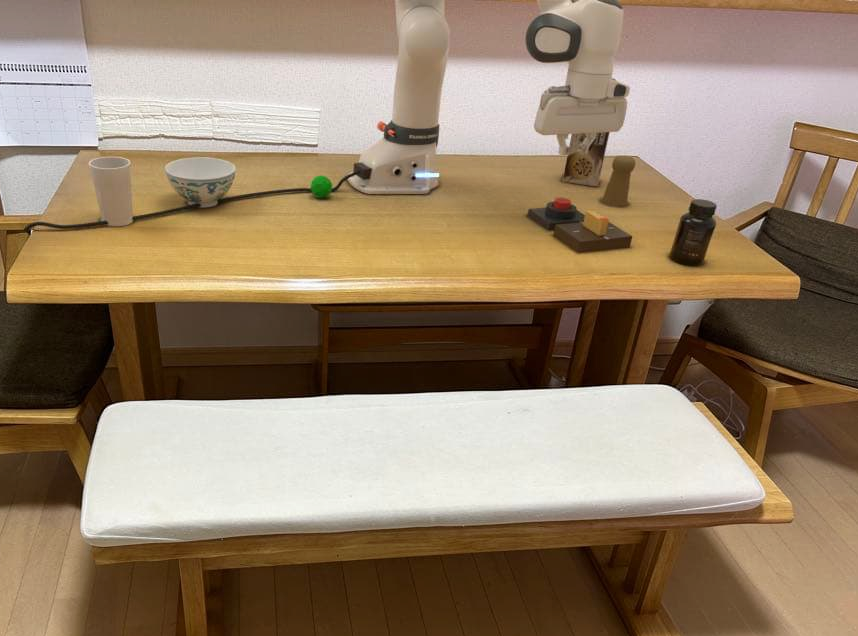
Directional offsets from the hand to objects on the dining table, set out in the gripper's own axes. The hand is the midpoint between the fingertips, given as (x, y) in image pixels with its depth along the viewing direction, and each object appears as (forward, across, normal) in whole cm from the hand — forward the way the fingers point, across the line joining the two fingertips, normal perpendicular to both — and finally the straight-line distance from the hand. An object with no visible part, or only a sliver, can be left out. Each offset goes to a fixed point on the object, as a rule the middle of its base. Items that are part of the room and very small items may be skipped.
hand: (572, 153), depth 161 cm
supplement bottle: (+15, +15, -25) cm, 33 cm away
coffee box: (+15, +22, +24) cm, 36 cm away
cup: (+15, -94, +21) cm, 98 cm away
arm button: (+12, 0, 0) cm, 12 cm away
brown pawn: (+15, +21, +8) cm, 27 cm away
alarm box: (+15, 0, 0) cm, 15 cm away
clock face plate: (+15, 0, -12) cm, 19 cm away
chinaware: (+15, -75, +28) cm, 82 cm away
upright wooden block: (+13, 0, -12) cm, 17 cm away
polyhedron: (+15, -48, +26) cm, 57 cm away
